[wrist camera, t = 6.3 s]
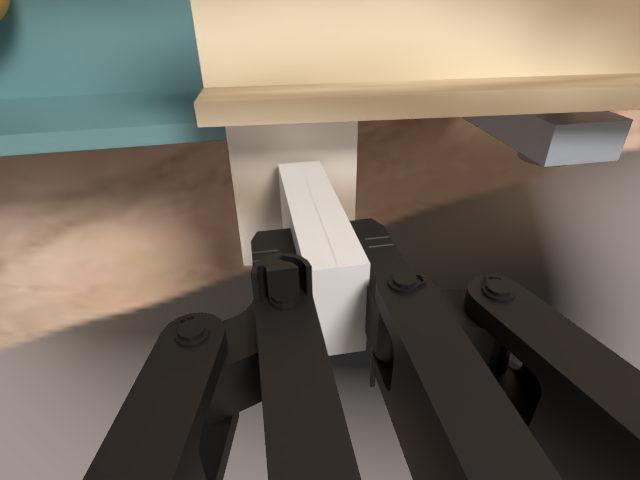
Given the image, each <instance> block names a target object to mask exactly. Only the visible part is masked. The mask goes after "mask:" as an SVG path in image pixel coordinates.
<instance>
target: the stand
mask: <svg viewBox="0 0 640 480" xmlns="http://www.w3.org/2000/svg"><path fill="white" fill-rule="evenodd" d="M462 118H464V119H465V120H467V121H469V122H470V123H472V124H474V125H475V126H477V127H479V128H480V129H482V130H484V131H485V132H487V133H489V134H490V135H492V136H494V137H495V138H497V139H499V140H500V141H502V142H504V143H505V144H507V145H509V146H510V147H512V148H514V149H515V150H517V151H518V156H519V157H520V158H521V159H522V160H524V161H526V162H529V163H532V164H536V165H542V166H543V167H549V166H553V167H555V166H565V165H571V164H582V163H593V162H604V161H616V160H618V159H619V156H620V153H621V151H622V148H623V145H624V143H625V140H626V137H627V135H628V132H629V129H630V127H631V124H632V121H633V120H632V119H630V118H627V117H624V116H621V115H618V114H615V113H612V112H610V111H595V112H570V113H545V114H520V115H495V116H470V117H462Z"/></svg>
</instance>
